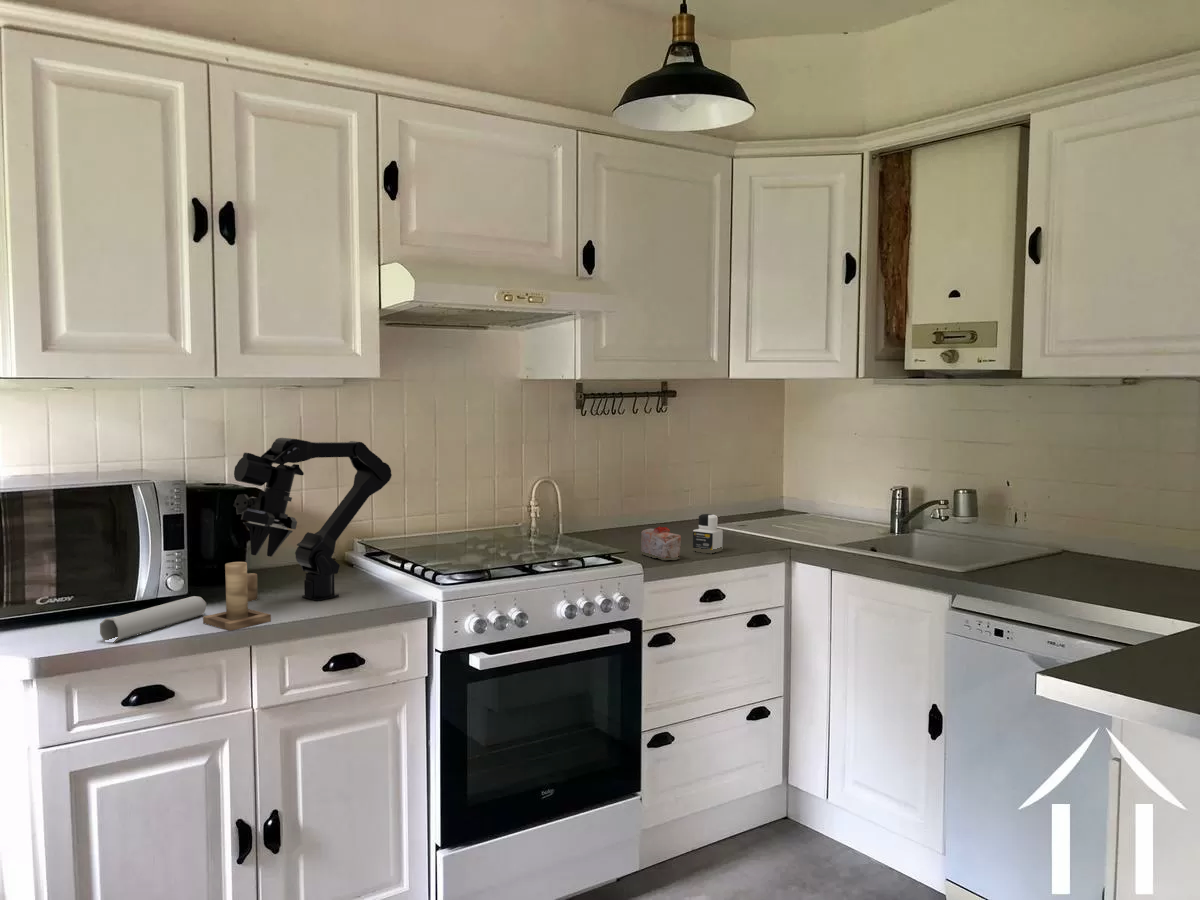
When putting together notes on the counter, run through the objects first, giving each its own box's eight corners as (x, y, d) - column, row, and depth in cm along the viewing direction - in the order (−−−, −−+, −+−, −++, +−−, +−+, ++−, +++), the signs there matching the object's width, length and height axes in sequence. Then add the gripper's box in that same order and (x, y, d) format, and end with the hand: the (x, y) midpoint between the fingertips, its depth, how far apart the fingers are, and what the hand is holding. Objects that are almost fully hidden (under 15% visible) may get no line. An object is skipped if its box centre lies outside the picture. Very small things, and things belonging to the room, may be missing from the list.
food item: (684, 560, 279) (685, 528, 278) (664, 563, 274) (664, 530, 274) (656, 553, 290) (657, 522, 289) (636, 556, 286) (636, 524, 285)
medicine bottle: (692, 552, 293) (692, 514, 292) (703, 548, 299) (703, 512, 298) (712, 554, 289) (712, 516, 288) (722, 551, 295) (723, 514, 294)
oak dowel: (232, 619, 204) (231, 561, 203) (251, 619, 204) (250, 562, 203) (222, 624, 200) (221, 565, 199) (242, 625, 200) (241, 566, 199)
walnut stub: (250, 596, 226) (250, 572, 226) (261, 599, 224) (260, 574, 223) (234, 599, 223) (233, 575, 222) (245, 602, 220) (244, 577, 220)
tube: (190, 596, 210) (96, 621, 187) (207, 590, 208) (115, 615, 185) (196, 618, 210) (103, 646, 186) (213, 613, 208) (122, 641, 184)
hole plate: (244, 614, 209) (243, 607, 209) (270, 621, 203) (270, 614, 203) (203, 623, 201) (203, 616, 201) (229, 630, 195) (229, 623, 195)
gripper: (260, 487, 226) (245, 550, 224) (227, 479, 207) (210, 547, 205) (304, 496, 225) (289, 559, 223) (275, 488, 207) (258, 557, 204)
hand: (261, 555), depth 214 cm, fingers open, 9 cm apart
